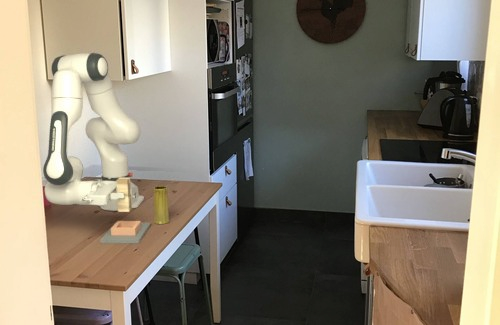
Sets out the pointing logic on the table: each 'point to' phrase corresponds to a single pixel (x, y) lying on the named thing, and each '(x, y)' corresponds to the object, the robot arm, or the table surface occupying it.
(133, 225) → the socket board
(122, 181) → the oak post
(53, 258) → the table surface
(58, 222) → the table surface
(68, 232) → the table surface
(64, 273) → the table surface
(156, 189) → the vase
